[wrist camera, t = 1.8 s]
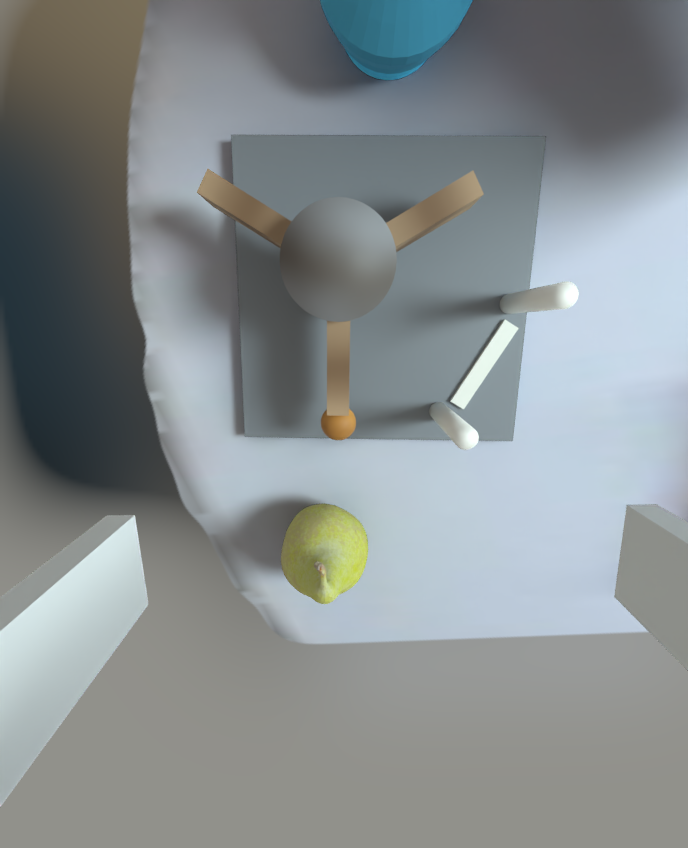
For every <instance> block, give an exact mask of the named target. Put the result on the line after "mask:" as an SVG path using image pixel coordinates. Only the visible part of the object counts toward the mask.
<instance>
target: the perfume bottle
mask: <svg viewBox="0 0 688 848" xmlns="http://www.w3.org/2000/svg"><path fill="white" fill-rule="evenodd" d="M472 1H473V0H320V3H321V7H322V9H323V11H324V14H325V16H326V19H327V21H328V23H329V25H330V27H331V28H332V30H333V32H334V33H335V35H336V36H337V38H338V40H339V41H340V43H341V44H342V45H343V46H344V48H345V50H346V52H347V54H348V56H349V57H350V59H351V60H352V62H353V63H354V64H355V65H356V66H357V67H358V68H359V69H360V70H361V71H363V72H364V73H366V74H367V75H369V76H372V77H374V78H377V79H382V80H396V79H400V78H403V77H406V76H408V75H410V74H411V73H413V72H415V71H416V70H417V69H418V68H420V67H421V66H422V65H423V64H424V63H425V61H426V60H427V59H428V58H429V57H431V56H432V55H433V54H434V53H435V52H437V51H438V50H439V49H440V48H441V47H442V46H443V45H444V44H445V43H446V42H447V41H448V40H449V39H450V37H451V36H452V35H453V34H454V32H455V31H456V30H457V29H458V27H459V26H460V24H461V22H462V20H463V18H464V16H465V15H466V13H467V11H468V9H469V7H470V5H471V3H472Z"/></svg>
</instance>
